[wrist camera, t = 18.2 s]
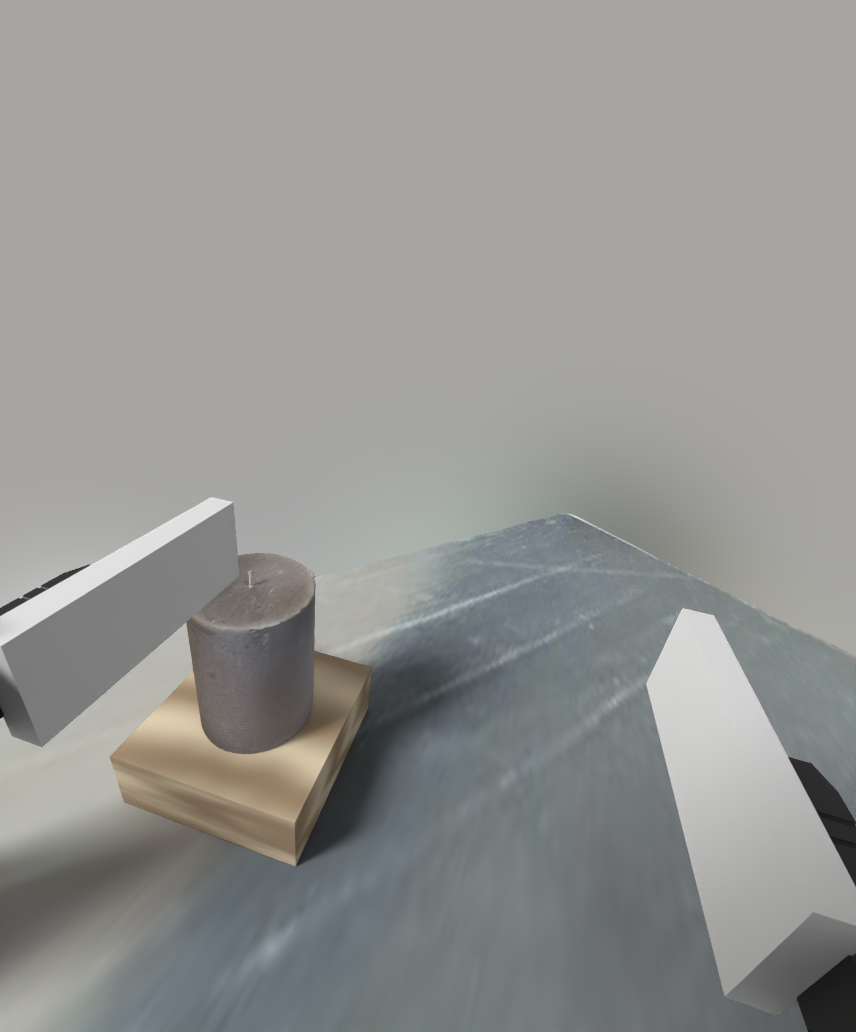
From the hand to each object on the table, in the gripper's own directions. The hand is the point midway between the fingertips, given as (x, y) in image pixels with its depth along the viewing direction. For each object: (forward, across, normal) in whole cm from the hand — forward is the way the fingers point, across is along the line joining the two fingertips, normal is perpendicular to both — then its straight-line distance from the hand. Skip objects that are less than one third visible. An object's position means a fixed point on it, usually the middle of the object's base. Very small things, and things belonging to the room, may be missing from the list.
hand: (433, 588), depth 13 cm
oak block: (+14, -16, -34) cm, 40 cm away
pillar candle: (+14, -16, -28) cm, 36 cm away
